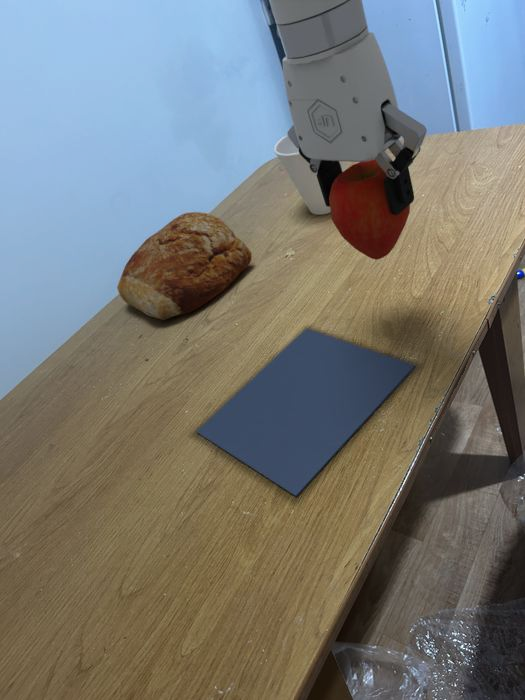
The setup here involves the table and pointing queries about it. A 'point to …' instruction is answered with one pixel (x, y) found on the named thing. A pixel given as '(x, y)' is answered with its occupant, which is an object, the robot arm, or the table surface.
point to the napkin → (304, 407)
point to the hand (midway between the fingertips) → (368, 203)
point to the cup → (302, 175)
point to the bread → (183, 266)
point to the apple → (365, 210)
